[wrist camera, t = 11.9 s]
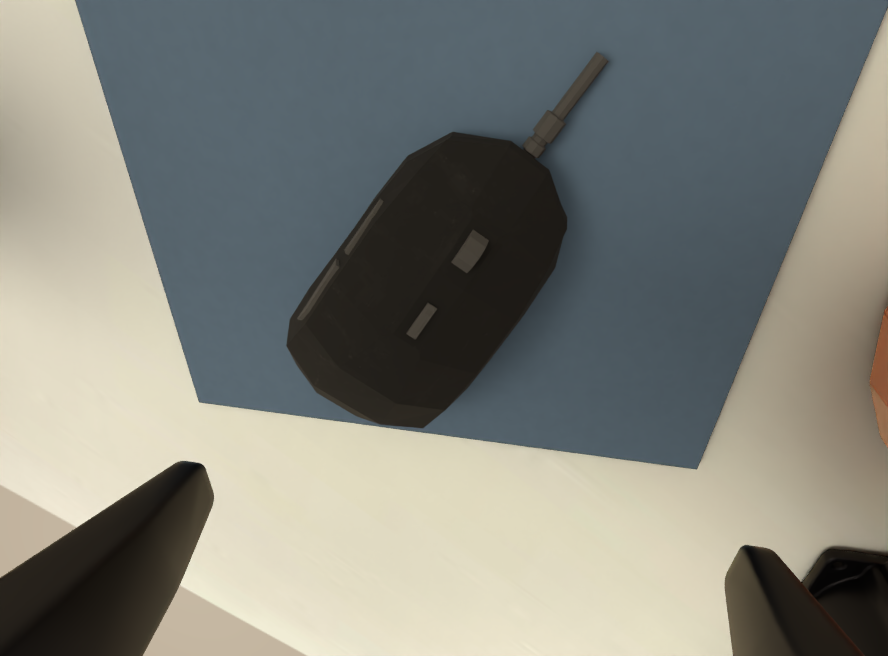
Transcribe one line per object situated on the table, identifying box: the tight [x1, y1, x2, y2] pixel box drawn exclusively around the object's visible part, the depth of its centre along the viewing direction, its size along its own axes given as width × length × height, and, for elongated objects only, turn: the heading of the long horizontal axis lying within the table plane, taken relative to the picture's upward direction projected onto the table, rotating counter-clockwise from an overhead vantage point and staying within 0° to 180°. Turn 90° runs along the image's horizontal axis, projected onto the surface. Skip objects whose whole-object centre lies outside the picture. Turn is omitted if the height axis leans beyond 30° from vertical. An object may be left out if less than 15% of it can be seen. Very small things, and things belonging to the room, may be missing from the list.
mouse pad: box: [75, 0, 888, 469], centre depth 18 cm, size 18×21×1 cm
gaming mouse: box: [286, 52, 609, 428], centre depth 16 cm, size 6×15×4 cm, turn 146°
